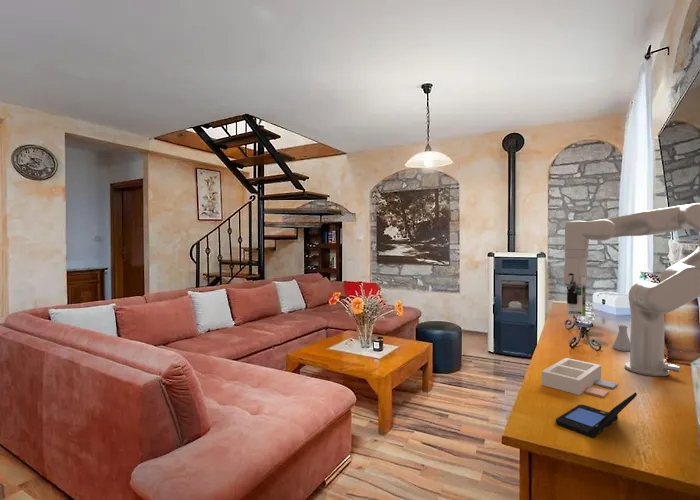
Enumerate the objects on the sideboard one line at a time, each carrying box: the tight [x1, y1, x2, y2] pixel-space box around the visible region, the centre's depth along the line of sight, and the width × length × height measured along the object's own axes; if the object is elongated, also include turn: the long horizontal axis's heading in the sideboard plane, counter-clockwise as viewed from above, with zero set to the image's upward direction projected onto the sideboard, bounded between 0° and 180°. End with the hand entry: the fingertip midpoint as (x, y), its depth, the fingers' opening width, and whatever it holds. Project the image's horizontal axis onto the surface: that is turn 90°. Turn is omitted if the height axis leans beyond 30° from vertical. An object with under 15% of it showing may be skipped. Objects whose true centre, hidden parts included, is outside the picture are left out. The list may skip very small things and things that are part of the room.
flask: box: [611, 324, 630, 352], centre depth 163 cm, size 7×7×10 cm
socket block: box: [541, 357, 618, 399], centre depth 125 cm, size 16×20×4 cm
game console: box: [555, 392, 638, 439], centre depth 98 cm, size 16×14×9 cm
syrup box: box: [566, 276, 587, 317], centre depth 142 cm, size 6×6×14 cm
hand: (576, 302), depth 142 cm, fingers closed on syrup box, 7 cm apart
